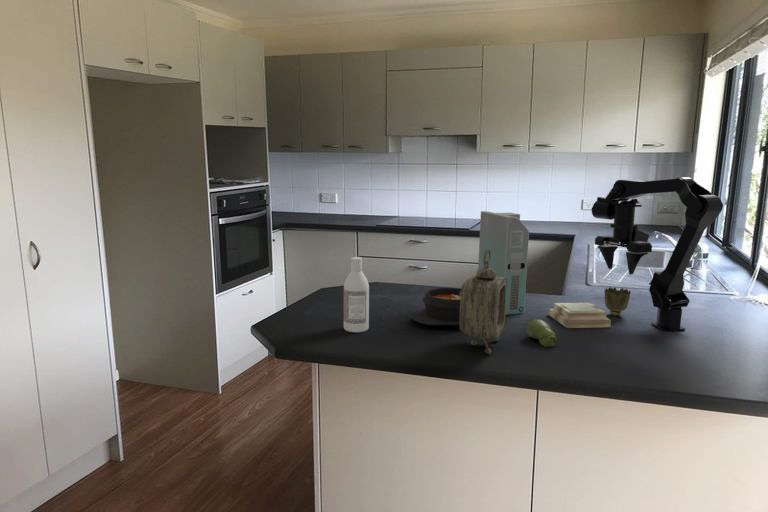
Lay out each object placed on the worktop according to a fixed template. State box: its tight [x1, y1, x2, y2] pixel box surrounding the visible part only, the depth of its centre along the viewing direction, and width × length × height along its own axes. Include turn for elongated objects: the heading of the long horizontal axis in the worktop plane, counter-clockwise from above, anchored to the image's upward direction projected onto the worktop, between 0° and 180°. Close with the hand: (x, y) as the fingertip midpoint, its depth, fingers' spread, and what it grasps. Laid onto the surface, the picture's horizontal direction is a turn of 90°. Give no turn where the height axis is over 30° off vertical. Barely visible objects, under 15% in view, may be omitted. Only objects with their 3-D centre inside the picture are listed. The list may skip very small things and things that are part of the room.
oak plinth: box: [548, 302, 612, 329], centre depth 168 cm, size 13×13×4 cm
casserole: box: [409, 287, 461, 328], centre depth 165 cm, size 25×19×8 cm
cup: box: [603, 287, 631, 317], centre depth 174 cm, size 8×7×8 cm
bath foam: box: [343, 256, 370, 333], centre depth 156 cm, size 7×7×20 cm
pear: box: [526, 318, 558, 347], centre depth 149 cm, size 6×5×10 cm
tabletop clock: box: [458, 249, 507, 355], centre depth 143 cm, size 14×9×25 cm, turn 158°
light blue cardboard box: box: [477, 210, 530, 316], centre depth 179 cm, size 16×8×30 cm, turn 19°
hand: (620, 271), depth 176 cm, fingers open, 9 cm apart
